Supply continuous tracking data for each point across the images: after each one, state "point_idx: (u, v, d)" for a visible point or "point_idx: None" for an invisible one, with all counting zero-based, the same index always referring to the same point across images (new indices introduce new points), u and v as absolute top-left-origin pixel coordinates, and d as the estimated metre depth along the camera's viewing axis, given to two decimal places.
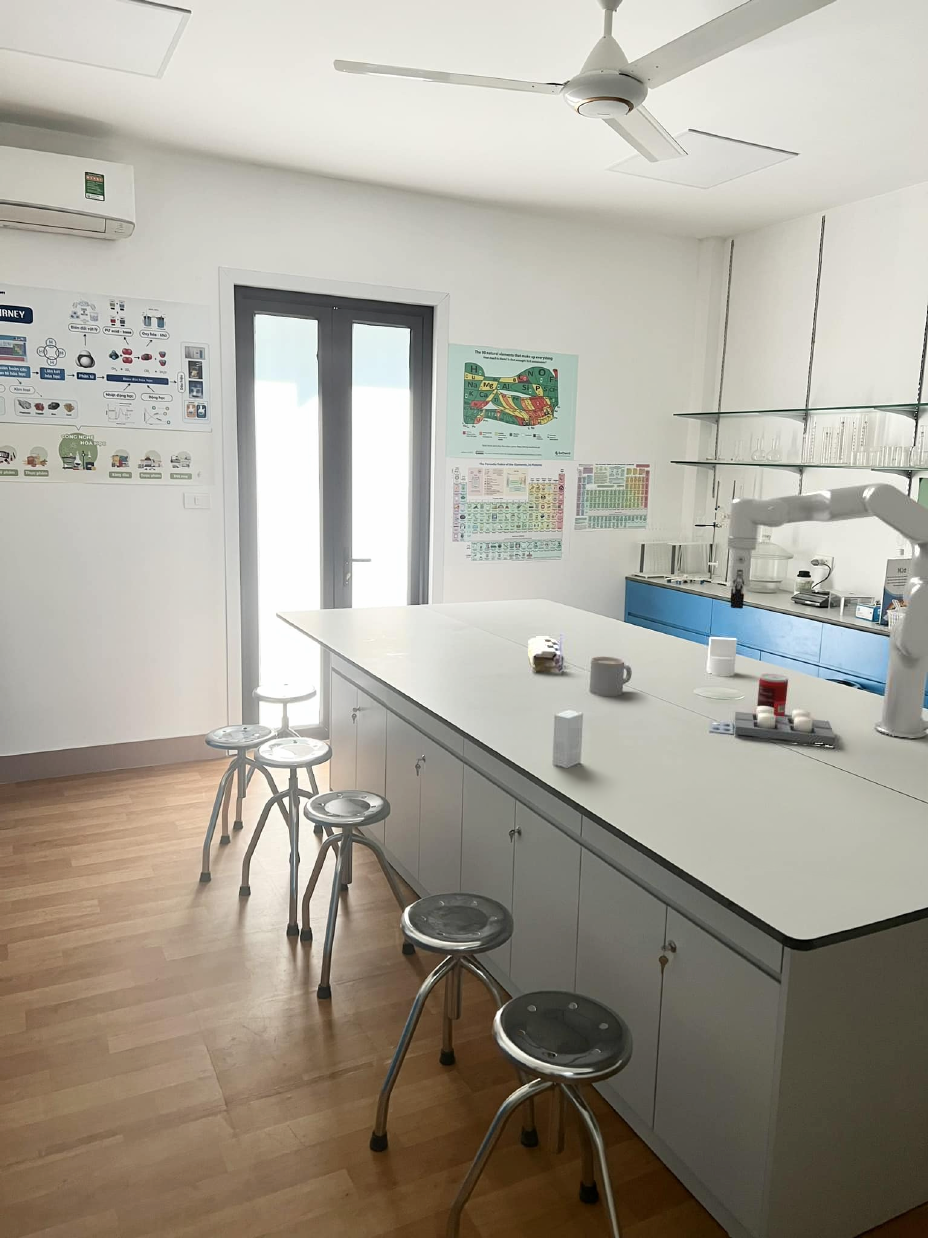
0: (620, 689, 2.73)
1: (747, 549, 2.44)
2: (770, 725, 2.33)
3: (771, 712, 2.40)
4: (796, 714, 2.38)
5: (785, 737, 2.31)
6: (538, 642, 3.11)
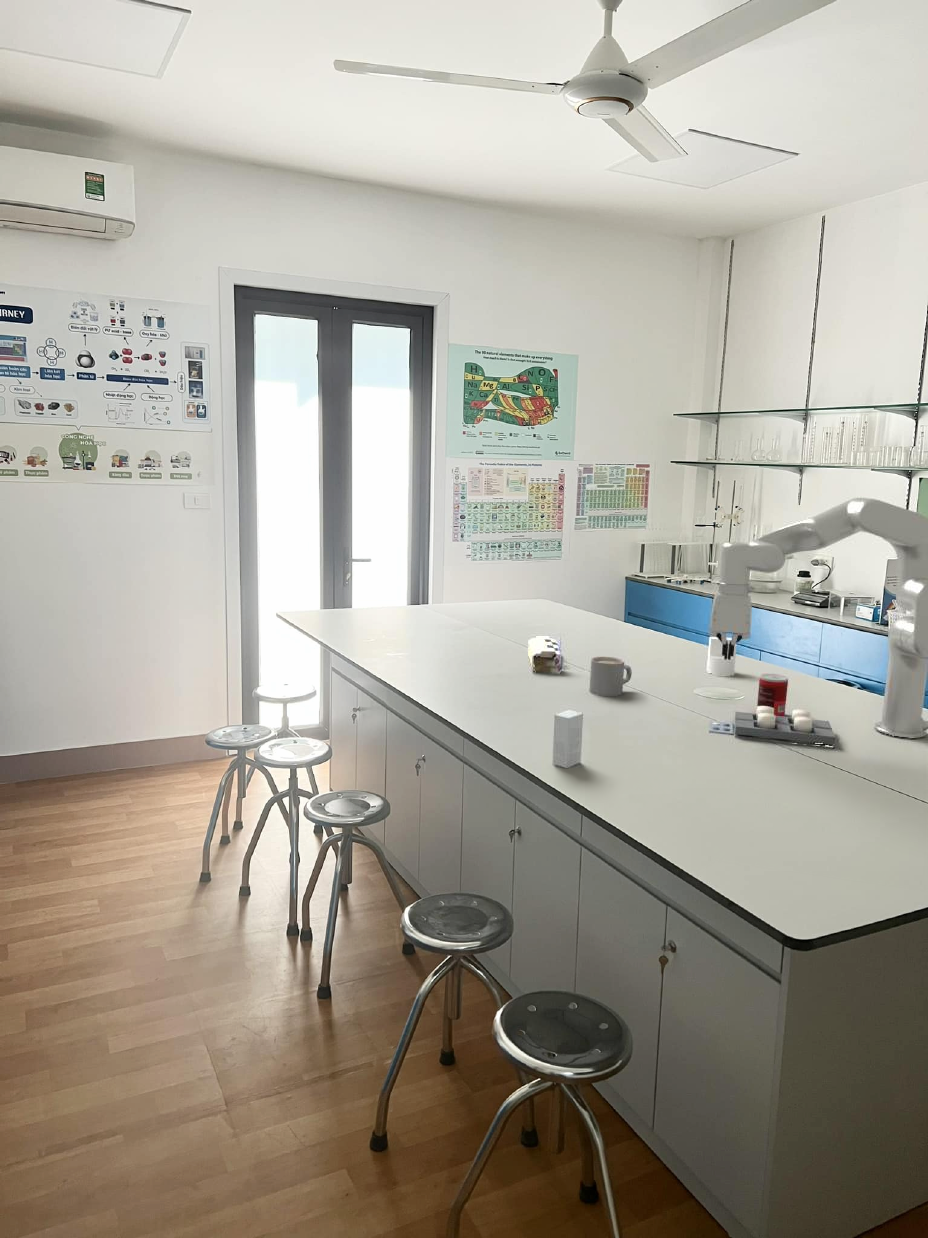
0: (620, 689, 2.73)
1: None
2: (770, 725, 2.33)
3: (771, 712, 2.40)
4: (796, 714, 2.38)
5: (785, 737, 2.31)
6: (538, 642, 3.11)
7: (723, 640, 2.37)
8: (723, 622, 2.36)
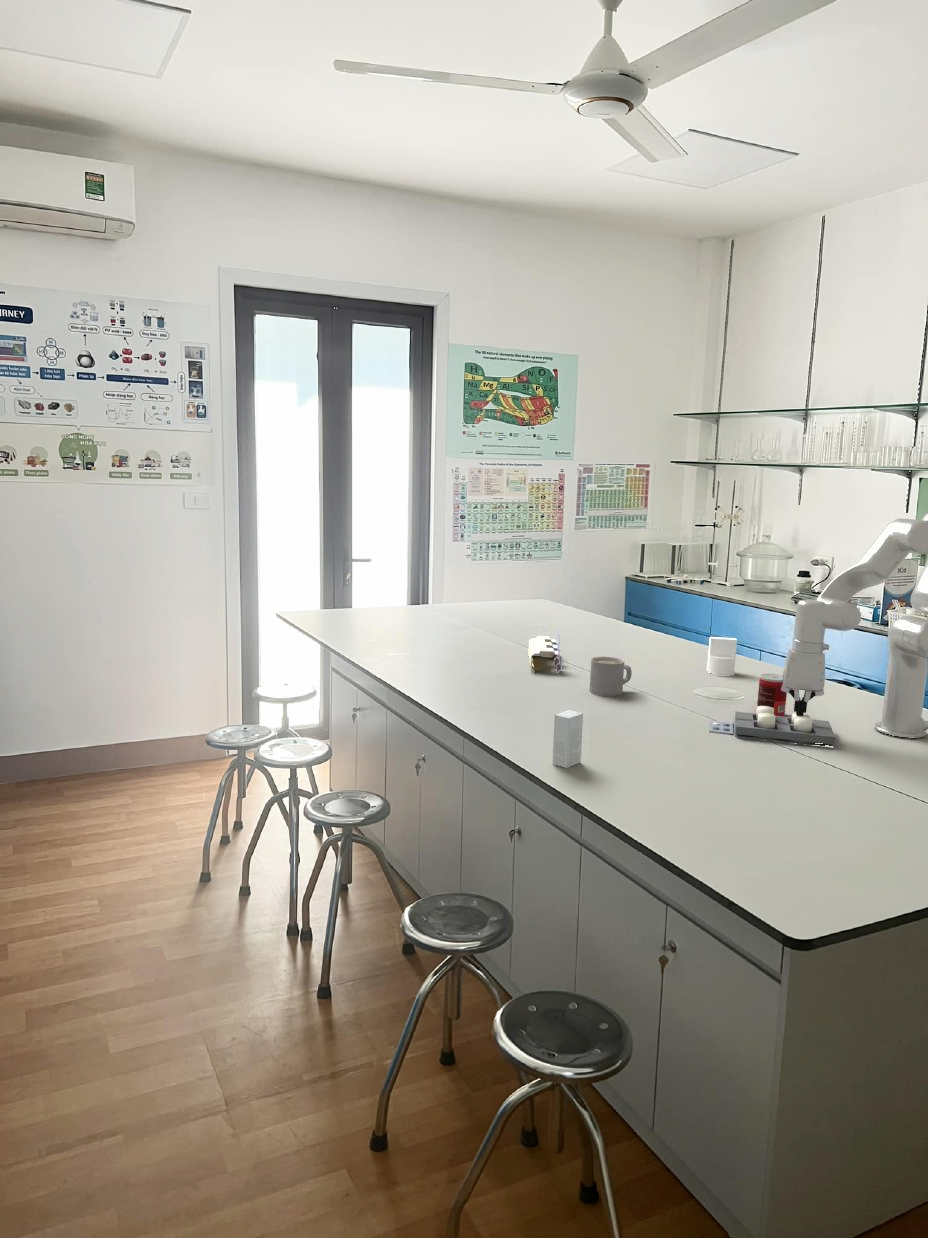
0: (620, 689, 2.73)
1: None
2: (770, 725, 2.33)
3: (771, 712, 2.40)
4: None
5: (785, 737, 2.31)
6: (538, 642, 3.12)
7: (796, 697, 2.38)
8: (797, 679, 2.36)
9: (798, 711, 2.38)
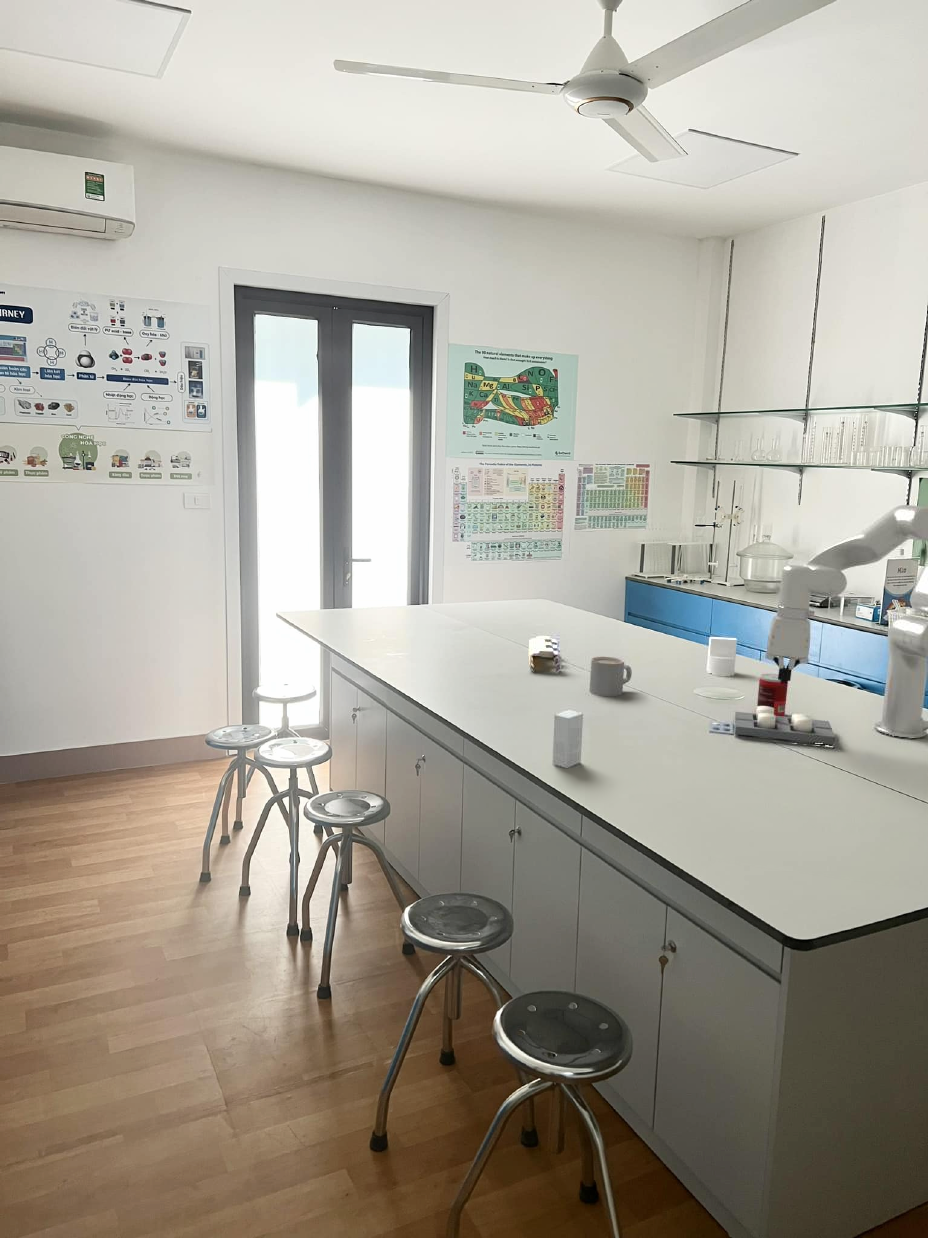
0: (620, 689, 2.73)
1: None
2: (770, 725, 2.33)
3: (771, 712, 2.40)
4: None
5: (785, 737, 2.31)
6: (538, 642, 3.12)
7: (780, 664, 2.34)
8: (781, 646, 2.32)
9: (782, 679, 2.34)
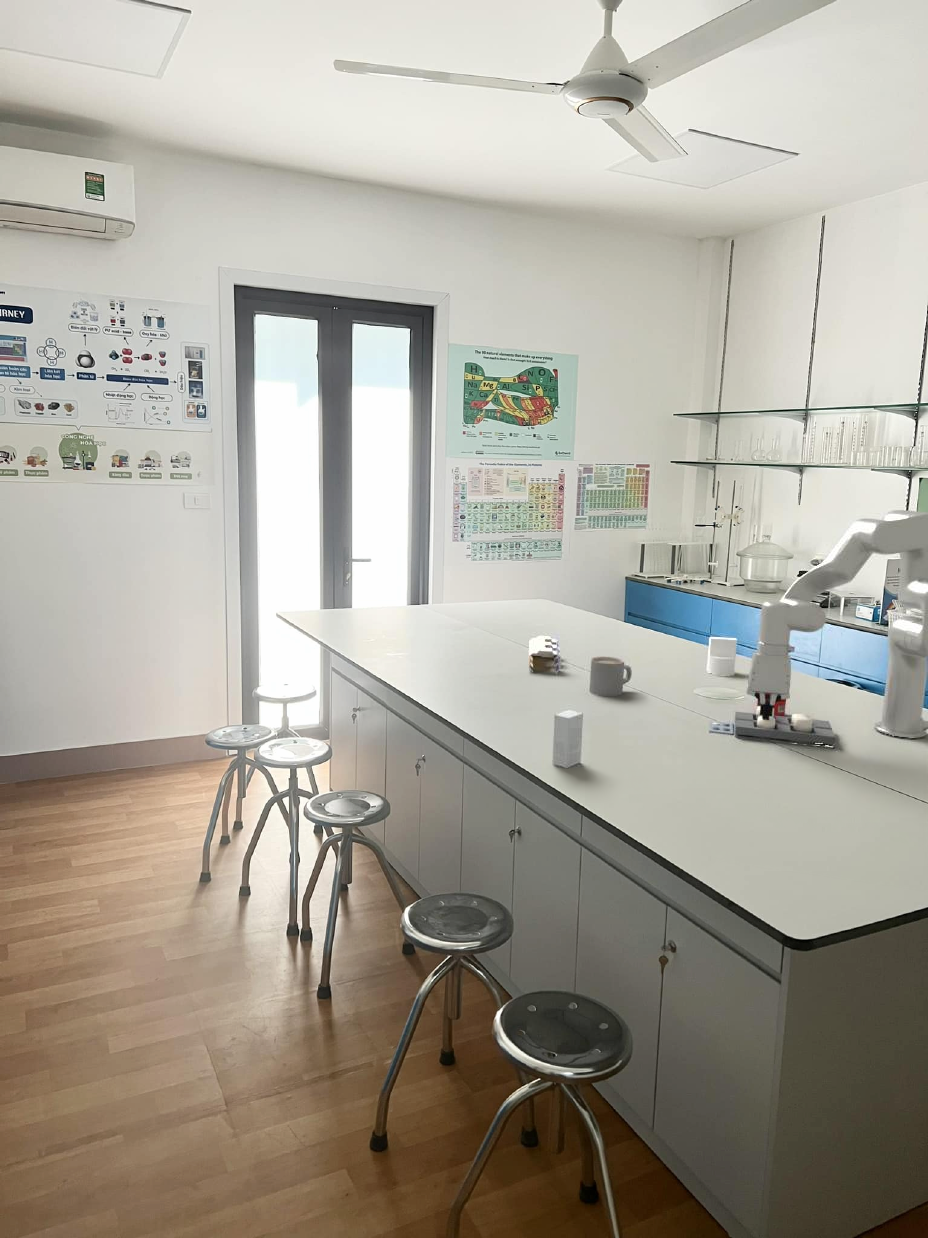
0: (620, 689, 2.73)
1: None
2: None
3: None
4: None
5: (785, 737, 2.31)
6: (537, 642, 3.12)
7: (762, 700, 2.33)
8: (762, 682, 2.32)
9: (764, 715, 2.34)
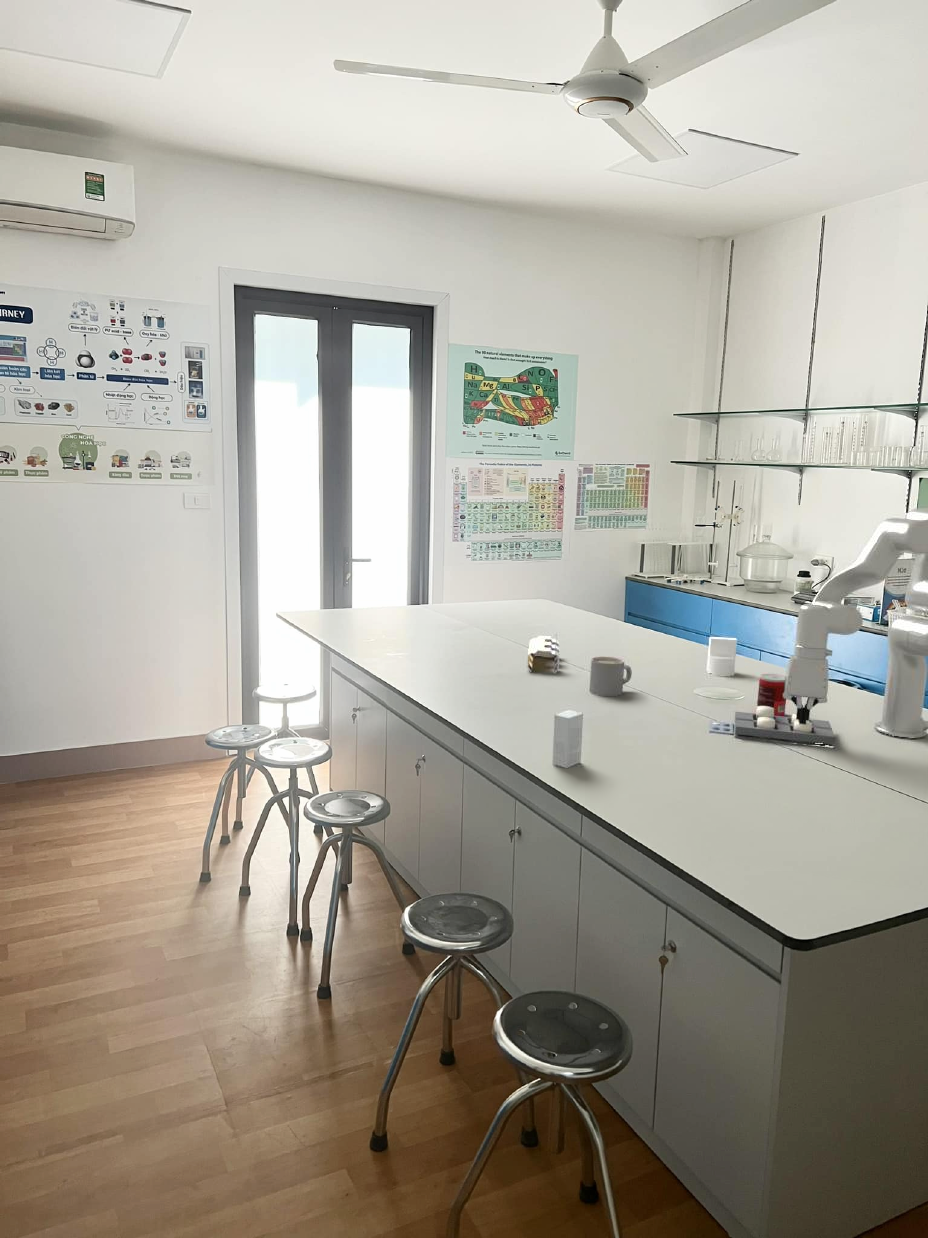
0: (620, 689, 2.73)
1: None
2: None
3: (771, 712, 2.40)
4: None
5: (785, 737, 2.31)
6: (537, 642, 3.12)
7: (798, 704, 2.31)
8: (799, 686, 2.29)
9: (801, 719, 2.31)
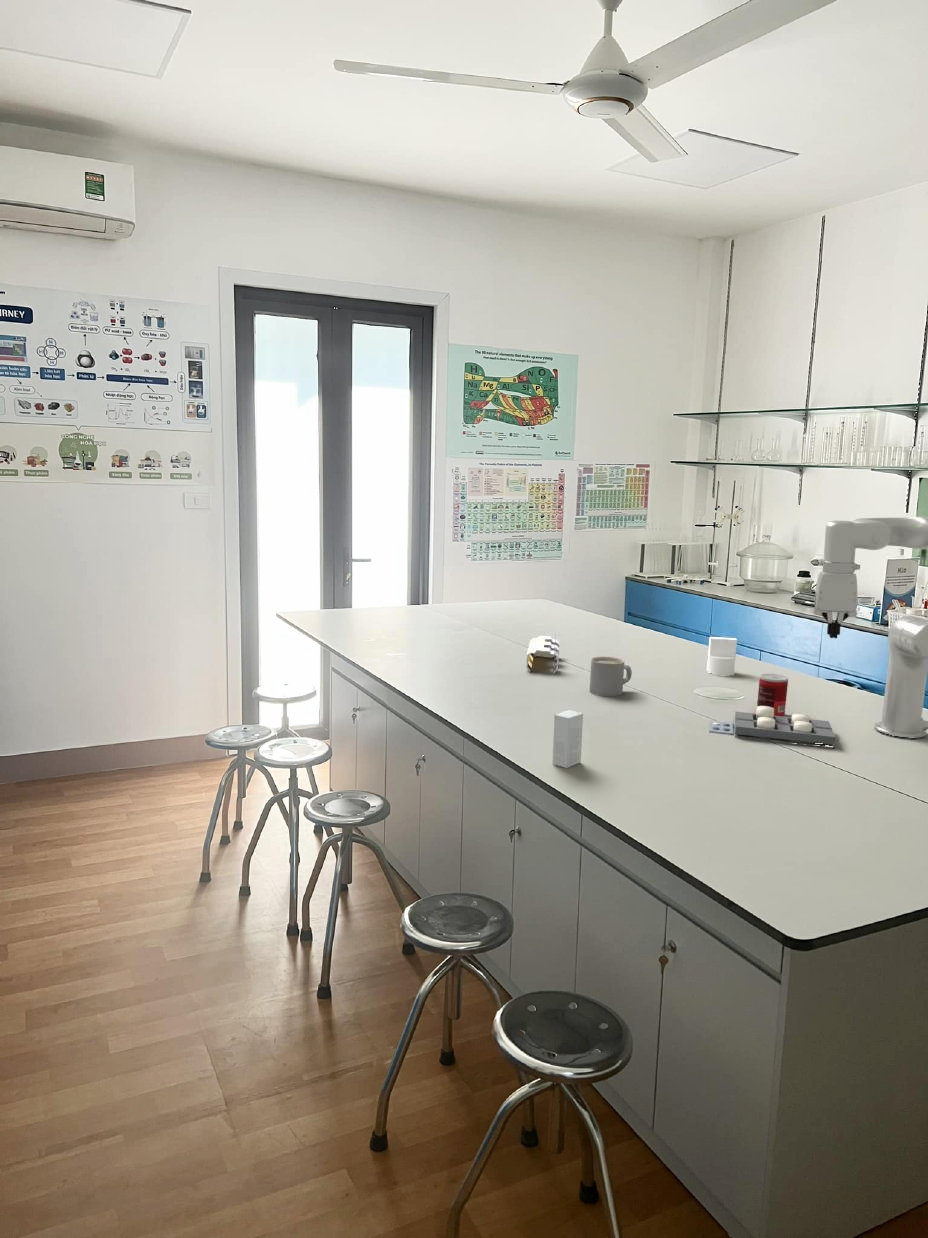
0: (620, 689, 2.73)
1: None
2: None
3: (771, 712, 2.40)
4: (796, 718, 2.39)
5: (785, 737, 2.31)
6: (537, 642, 3.12)
7: (829, 619, 2.38)
8: (829, 601, 2.36)
9: (832, 633, 2.38)
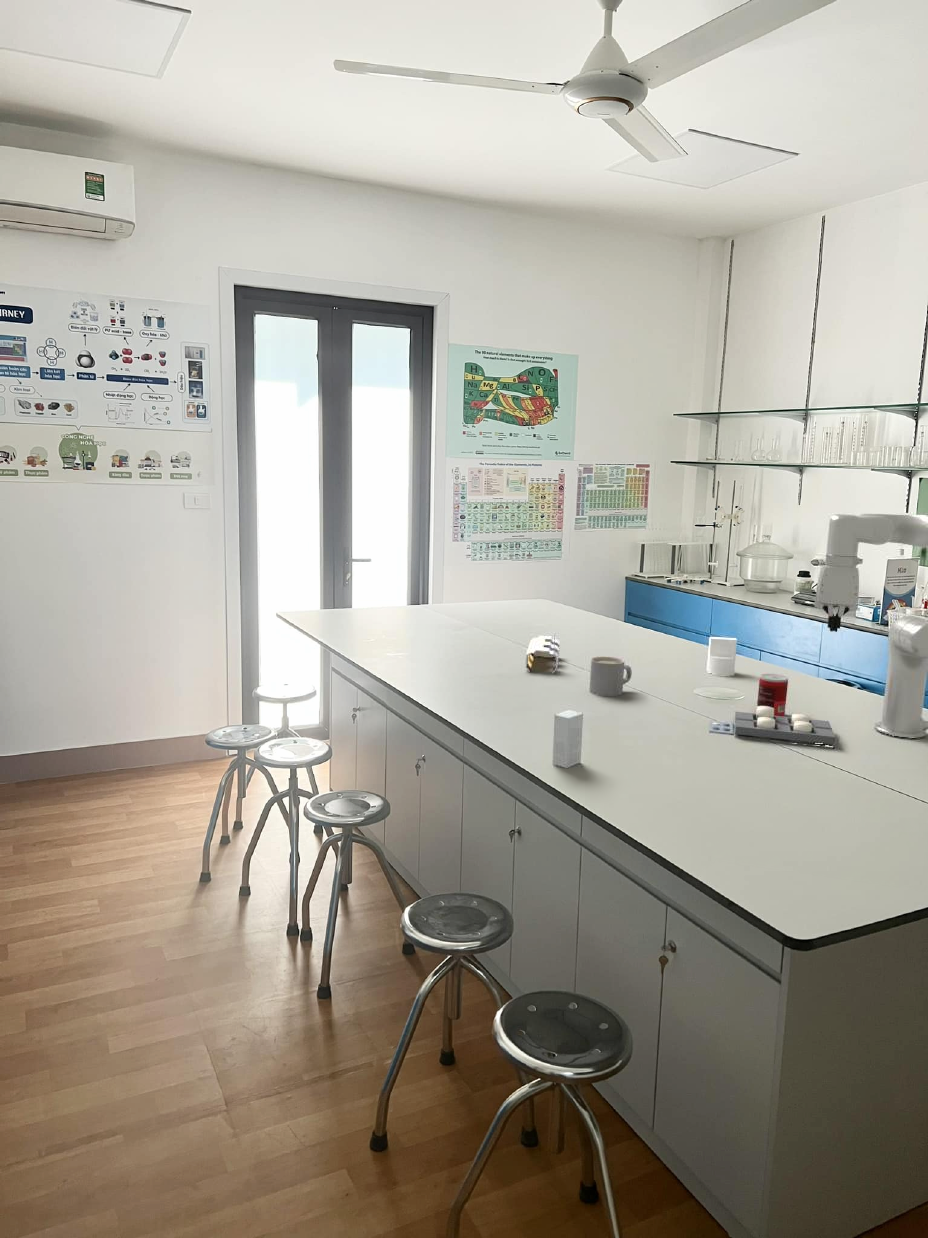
0: (620, 690, 2.73)
1: None
2: None
3: (771, 712, 2.40)
4: (796, 718, 2.39)
5: (785, 737, 2.31)
6: (537, 641, 3.12)
7: (830, 612, 2.38)
8: (831, 594, 2.37)
9: (832, 626, 2.39)
